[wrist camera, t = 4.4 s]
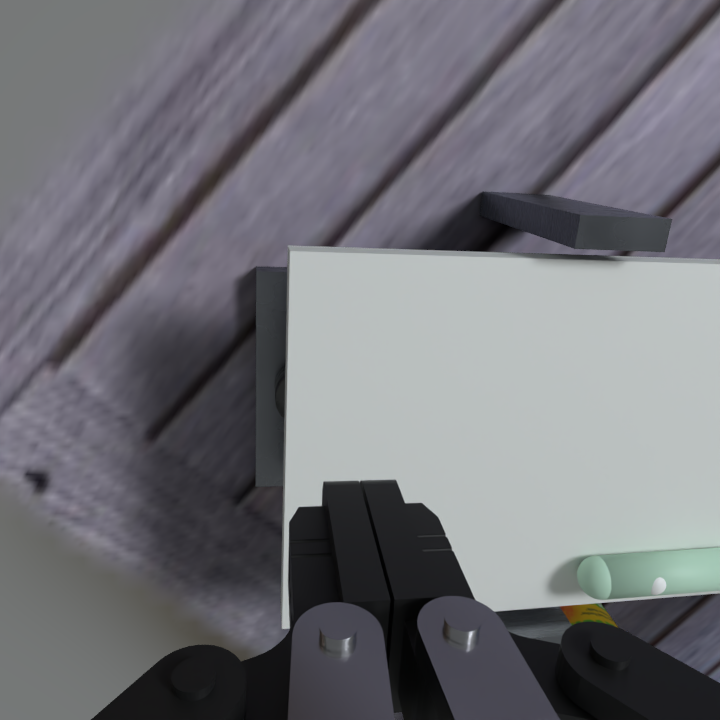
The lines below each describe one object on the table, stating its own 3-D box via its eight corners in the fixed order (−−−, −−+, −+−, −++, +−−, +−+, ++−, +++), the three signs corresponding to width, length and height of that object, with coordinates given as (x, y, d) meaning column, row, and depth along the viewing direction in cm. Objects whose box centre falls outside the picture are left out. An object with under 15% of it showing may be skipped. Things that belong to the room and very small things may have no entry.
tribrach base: (741, 205, 28) (931, 231, 20) (658, 520, 34) (781, 637, 26) (256, 179, 24) (254, 199, 16) (255, 537, 30) (254, 680, 22)
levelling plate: (833, 263, 22) (906, 278, 20) (732, 575, 27) (782, 620, 25) (287, 245, 19) (294, 262, 16) (280, 609, 23) (284, 665, 21)
